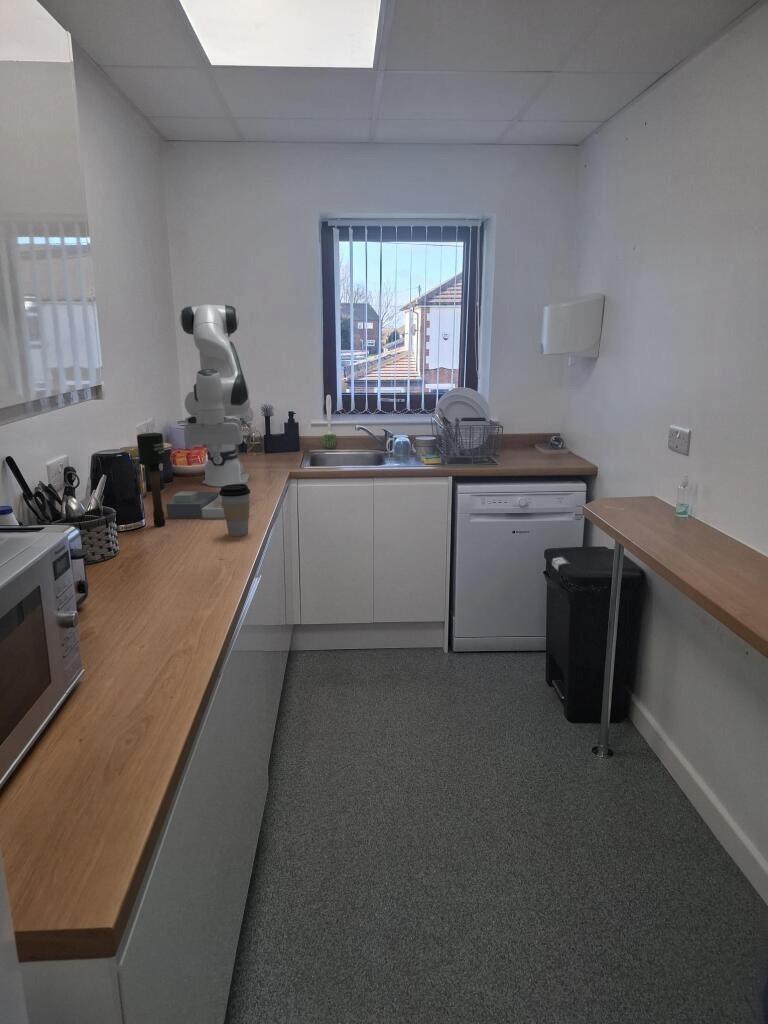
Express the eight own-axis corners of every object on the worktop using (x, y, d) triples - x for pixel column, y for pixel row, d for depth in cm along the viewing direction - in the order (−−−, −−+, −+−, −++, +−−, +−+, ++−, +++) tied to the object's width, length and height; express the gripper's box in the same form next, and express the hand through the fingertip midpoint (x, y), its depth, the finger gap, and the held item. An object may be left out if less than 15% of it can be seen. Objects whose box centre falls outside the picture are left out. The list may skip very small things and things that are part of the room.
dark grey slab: (187, 505, 245) (186, 491, 244) (219, 505, 244) (218, 491, 242) (167, 518, 227) (166, 504, 226) (202, 518, 226) (200, 504, 225)
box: (221, 504, 245) (220, 495, 244) (248, 504, 244) (247, 495, 243) (202, 519, 225) (201, 509, 224) (231, 519, 224) (230, 509, 224)
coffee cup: (259, 530, 210) (255, 484, 206) (243, 539, 202) (239, 490, 198) (233, 528, 213) (229, 482, 209) (216, 536, 205) (212, 489, 201)
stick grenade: (165, 529, 214) (154, 436, 206) (140, 528, 216) (129, 436, 208) (178, 522, 222) (168, 432, 214) (154, 521, 224) (144, 432, 216)
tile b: (181, 498, 234) (180, 491, 233) (197, 498, 233) (196, 491, 233) (174, 502, 228) (173, 495, 227) (191, 502, 227) (190, 495, 227)
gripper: (244, 416, 232) (247, 455, 236) (187, 416, 234) (191, 455, 238) (238, 418, 226) (241, 458, 230) (180, 419, 228) (184, 458, 232)
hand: (215, 457), depth 234 cm, fingers closed
